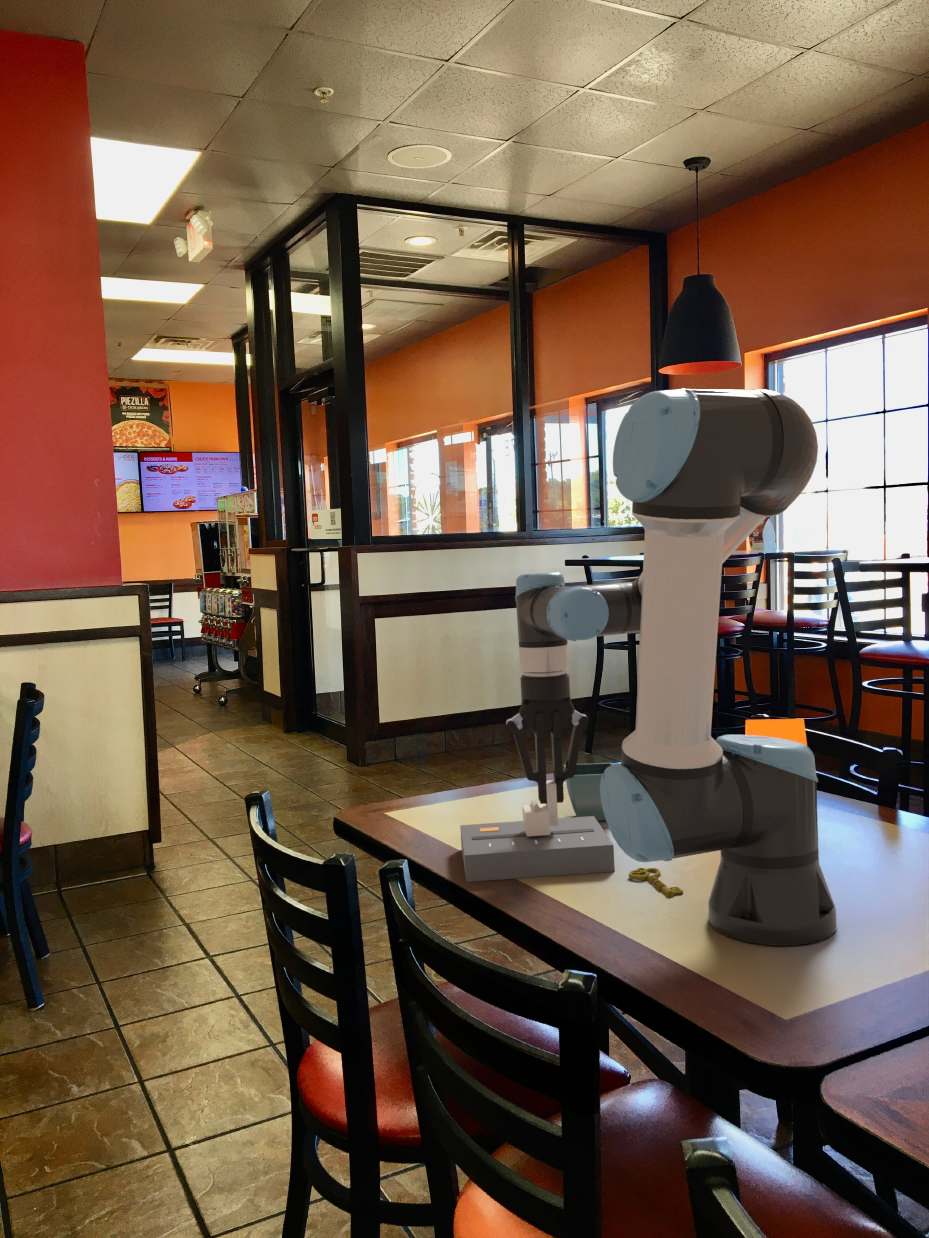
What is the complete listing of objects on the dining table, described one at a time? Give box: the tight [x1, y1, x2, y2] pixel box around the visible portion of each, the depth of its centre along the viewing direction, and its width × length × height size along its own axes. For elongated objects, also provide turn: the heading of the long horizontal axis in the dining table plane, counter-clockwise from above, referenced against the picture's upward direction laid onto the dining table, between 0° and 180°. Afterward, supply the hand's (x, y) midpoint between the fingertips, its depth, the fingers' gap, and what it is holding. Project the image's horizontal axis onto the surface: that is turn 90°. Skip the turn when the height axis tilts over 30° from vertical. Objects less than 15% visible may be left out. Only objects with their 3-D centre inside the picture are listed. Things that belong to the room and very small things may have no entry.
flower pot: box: [563, 762, 613, 822], centre depth 170 cm, size 9×9×9 cm
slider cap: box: [521, 799, 550, 836], centre depth 148 cm, size 5×4×4 cm
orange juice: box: [744, 718, 808, 747], centre depth 148 cm, size 8×9×20 cm
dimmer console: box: [459, 816, 616, 883], centre depth 149 cm, size 16×22×4 cm
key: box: [628, 867, 684, 898], centre depth 135 cm, size 12×1×5 cm
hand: (552, 823), depth 149 cm, fingers closed
